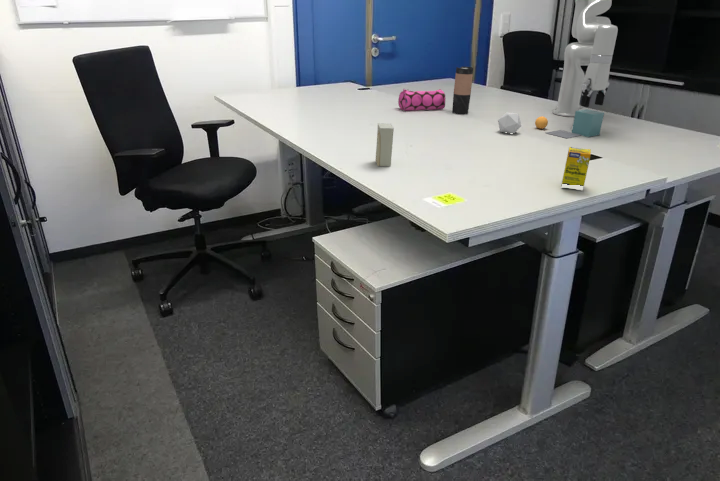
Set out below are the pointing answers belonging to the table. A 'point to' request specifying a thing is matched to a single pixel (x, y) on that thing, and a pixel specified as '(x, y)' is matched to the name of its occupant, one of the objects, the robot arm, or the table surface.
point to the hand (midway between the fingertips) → (591, 105)
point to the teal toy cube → (587, 122)
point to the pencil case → (421, 100)
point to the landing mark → (563, 134)
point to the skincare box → (384, 144)
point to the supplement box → (576, 166)
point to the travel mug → (462, 90)
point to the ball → (541, 122)
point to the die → (509, 122)
